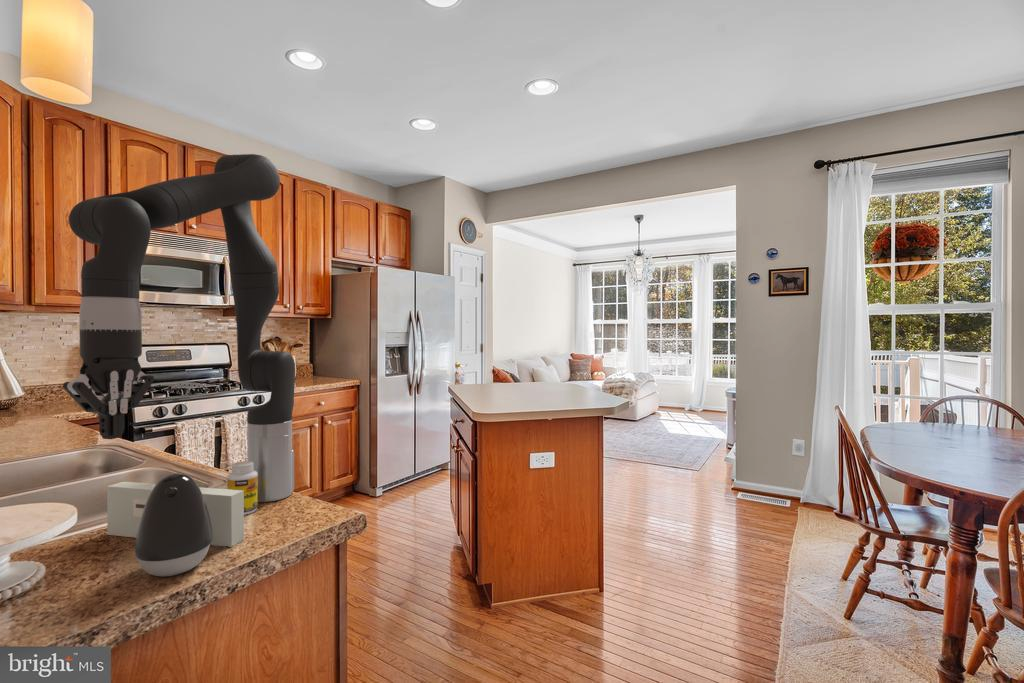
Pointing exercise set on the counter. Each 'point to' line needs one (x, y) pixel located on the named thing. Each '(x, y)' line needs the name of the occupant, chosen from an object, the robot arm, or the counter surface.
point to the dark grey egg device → (173, 527)
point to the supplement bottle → (244, 484)
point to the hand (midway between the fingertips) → (112, 437)
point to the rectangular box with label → (220, 503)
